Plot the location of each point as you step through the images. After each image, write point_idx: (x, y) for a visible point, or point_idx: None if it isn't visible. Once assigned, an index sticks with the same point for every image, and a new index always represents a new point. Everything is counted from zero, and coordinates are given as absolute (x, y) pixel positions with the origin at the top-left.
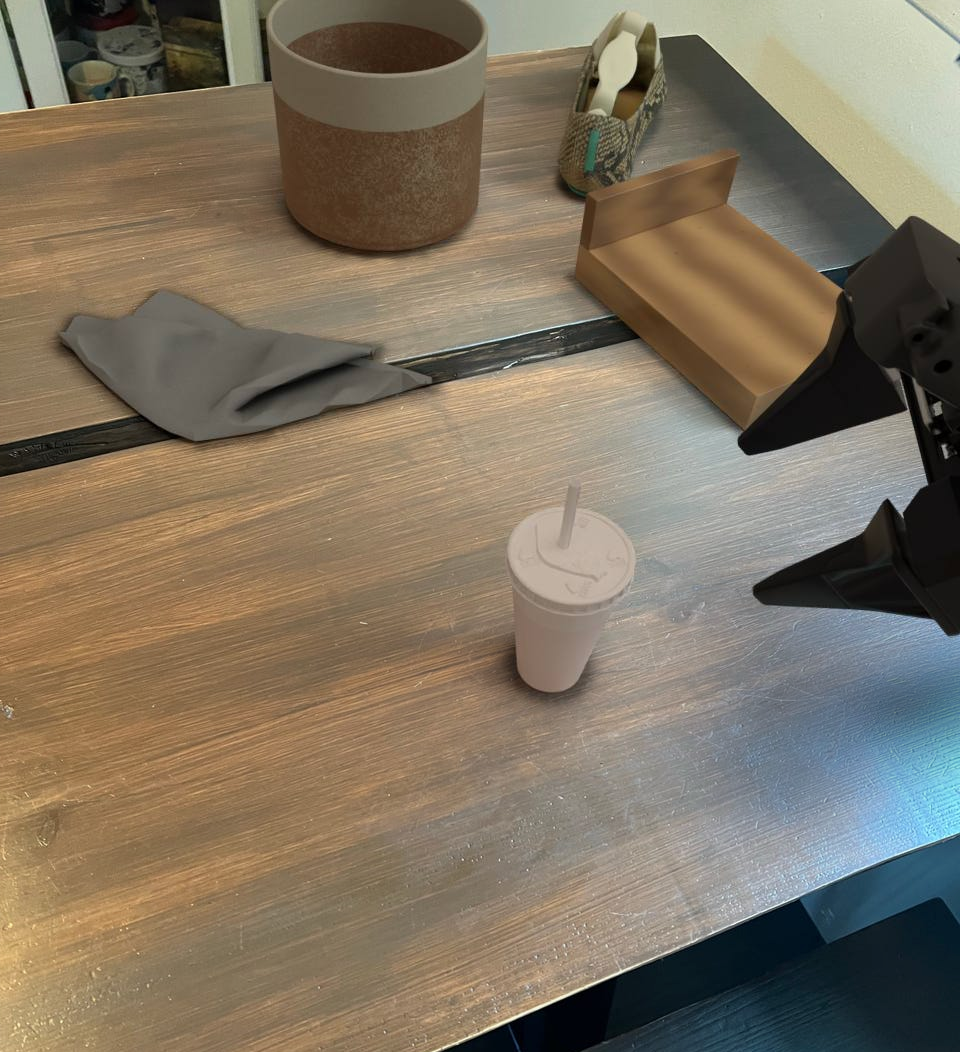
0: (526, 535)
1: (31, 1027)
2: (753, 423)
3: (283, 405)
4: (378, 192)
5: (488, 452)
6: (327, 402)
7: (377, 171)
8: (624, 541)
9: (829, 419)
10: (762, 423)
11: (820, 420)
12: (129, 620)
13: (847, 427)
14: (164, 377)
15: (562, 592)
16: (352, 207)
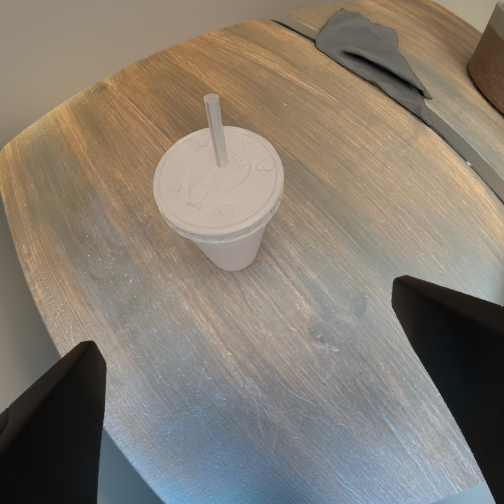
0: (227, 135)
1: (34, 126)
2: (427, 283)
3: (360, 65)
4: (497, 70)
5: (402, 165)
6: (376, 80)
7: (501, 62)
8: (251, 216)
9: (467, 403)
10: (426, 294)
11: (462, 389)
12: (199, 62)
13: (464, 435)
14: (342, 30)
15: (165, 178)
16: (484, 67)
